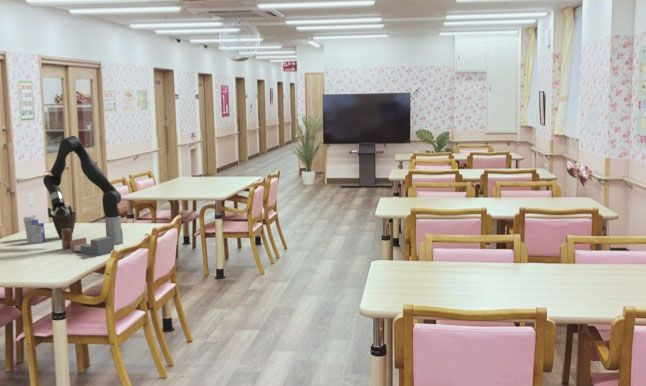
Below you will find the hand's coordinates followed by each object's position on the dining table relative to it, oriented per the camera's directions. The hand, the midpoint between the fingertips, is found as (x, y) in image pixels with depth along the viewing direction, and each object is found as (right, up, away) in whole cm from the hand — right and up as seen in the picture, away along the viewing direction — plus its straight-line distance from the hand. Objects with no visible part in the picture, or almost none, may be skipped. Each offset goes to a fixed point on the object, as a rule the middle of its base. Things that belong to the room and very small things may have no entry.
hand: (62, 221), depth 449 cm
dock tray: (+18, -17, -14) cm, 28 cm away
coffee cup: (-30, -13, +28) cm, 43 cm away
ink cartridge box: (-23, -15, +17) cm, 32 cm away
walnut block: (+5, -17, -6) cm, 18 cm away
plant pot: (-9, -12, +31) cm, 34 cm away
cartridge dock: (+28, -18, -20) cm, 39 cm away
